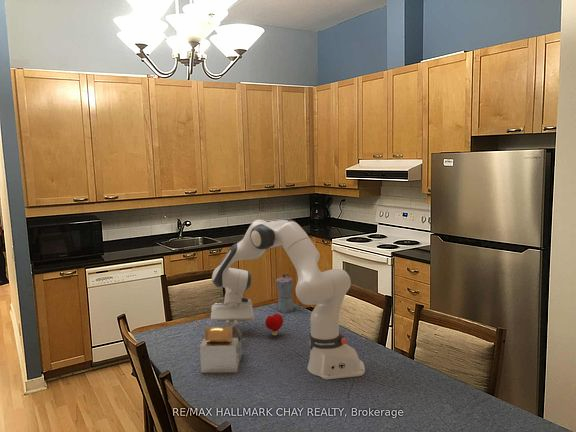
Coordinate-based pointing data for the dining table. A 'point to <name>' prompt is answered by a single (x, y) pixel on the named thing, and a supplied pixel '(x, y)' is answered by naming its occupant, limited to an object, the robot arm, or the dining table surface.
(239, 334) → the vintage flashlight
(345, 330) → the dining table surface
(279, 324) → the red heart ornament
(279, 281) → the moka pot
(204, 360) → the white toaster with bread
